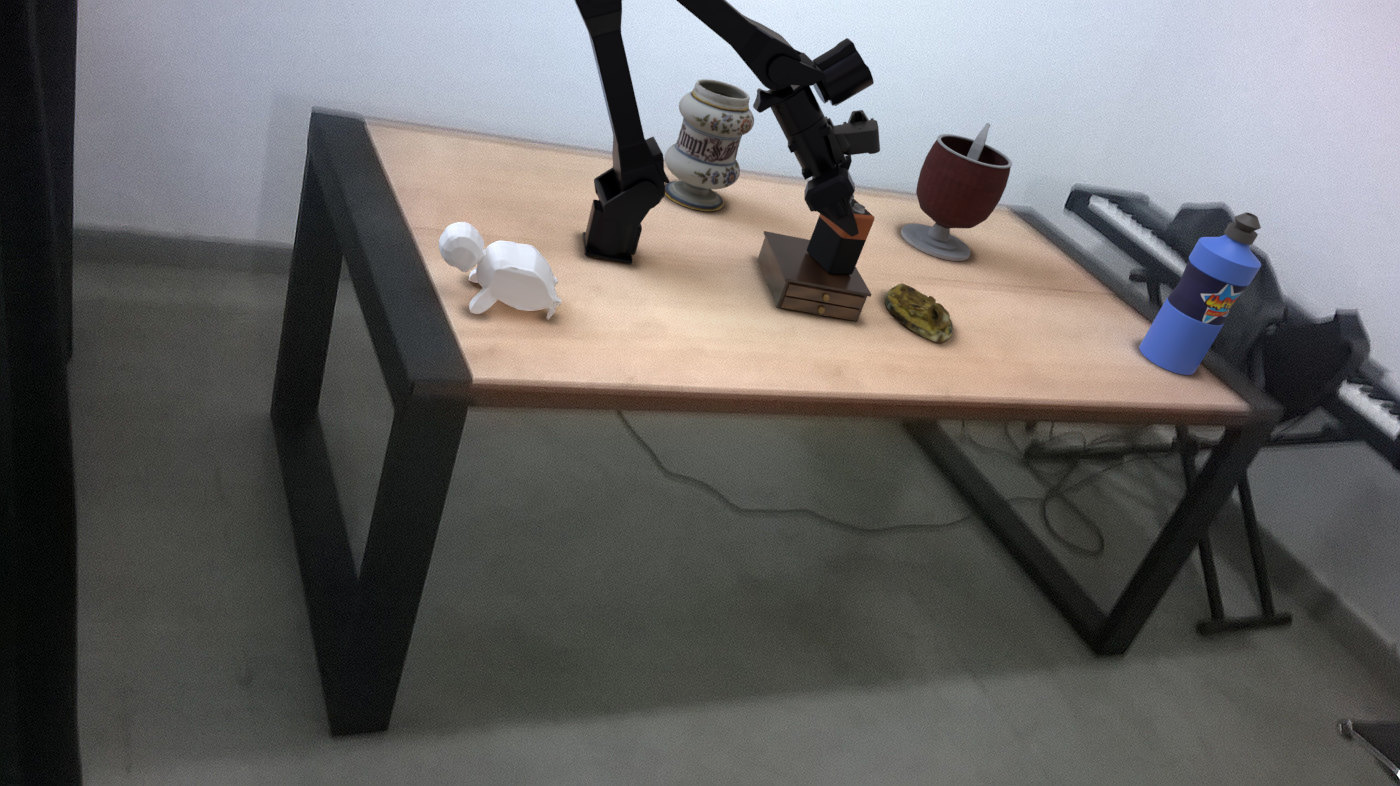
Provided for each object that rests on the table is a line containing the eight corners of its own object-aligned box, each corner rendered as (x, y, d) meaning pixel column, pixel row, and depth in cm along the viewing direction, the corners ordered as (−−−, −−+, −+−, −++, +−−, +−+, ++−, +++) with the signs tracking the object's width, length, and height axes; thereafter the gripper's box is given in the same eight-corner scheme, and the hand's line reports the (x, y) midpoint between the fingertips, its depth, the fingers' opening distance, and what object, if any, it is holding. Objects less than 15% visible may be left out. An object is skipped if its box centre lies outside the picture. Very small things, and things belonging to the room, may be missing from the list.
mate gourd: (967, 272, 175) (1018, 158, 165) (888, 239, 178) (934, 126, 167) (980, 244, 188) (1028, 138, 178) (906, 215, 191) (950, 108, 180)
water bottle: (1207, 378, 165) (1297, 234, 152) (1159, 371, 162) (1246, 224, 149) (1174, 346, 173) (1256, 206, 160) (1127, 339, 170) (1207, 196, 157)
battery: (829, 252, 153) (853, 189, 148) (853, 276, 148) (879, 211, 143) (804, 251, 151) (828, 186, 146) (827, 275, 146) (853, 209, 141)
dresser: (776, 311, 143) (787, 281, 141) (754, 258, 156) (764, 230, 154) (861, 326, 147) (873, 297, 144) (833, 273, 159) (844, 246, 157)
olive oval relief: (867, 293, 159) (911, 346, 148) (875, 265, 157) (920, 317, 145) (922, 293, 162) (969, 345, 151) (931, 266, 160) (979, 316, 148)
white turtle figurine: (530, 309, 132) (421, 251, 125) (568, 257, 129) (458, 194, 122) (534, 345, 125) (419, 286, 118) (575, 291, 122) (458, 227, 115)
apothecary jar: (692, 178, 177) (722, 72, 167) (744, 210, 171) (778, 103, 162) (640, 184, 168) (669, 73, 159) (693, 218, 162) (726, 106, 153)
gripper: (863, 116, 130) (915, 224, 136) (857, 77, 146) (903, 175, 152) (781, 157, 133) (835, 260, 139) (784, 115, 149) (832, 209, 155)
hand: (854, 224), depth 147 cm, fingers closed on battery, 8 cm apart
